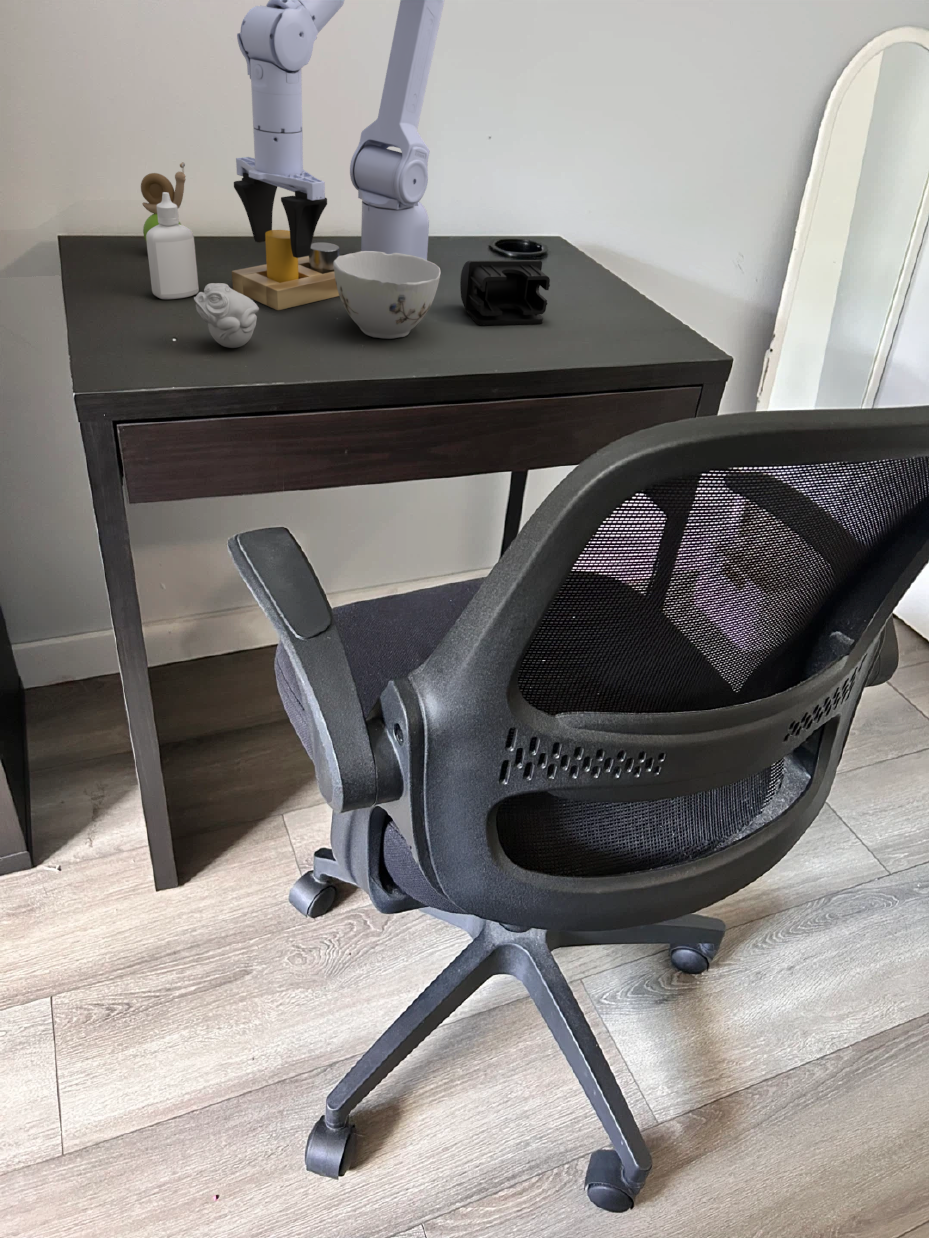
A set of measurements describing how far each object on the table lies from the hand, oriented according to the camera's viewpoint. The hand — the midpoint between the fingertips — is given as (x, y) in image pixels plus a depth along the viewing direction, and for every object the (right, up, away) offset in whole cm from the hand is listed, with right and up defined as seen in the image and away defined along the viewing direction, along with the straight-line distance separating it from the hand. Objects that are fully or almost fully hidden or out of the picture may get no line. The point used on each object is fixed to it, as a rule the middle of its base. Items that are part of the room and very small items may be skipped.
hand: (281, 248), depth 116 cm
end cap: (+28, -7, +4) cm, 29 cm away
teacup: (+13, -11, -3) cm, 17 cm away
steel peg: (+4, -2, +8) cm, 9 cm away
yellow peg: (0, -5, +3) cm, 6 cm away
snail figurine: (-18, +4, +13) cm, 23 cm away
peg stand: (+2, -3, +6) cm, 7 cm away
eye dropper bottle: (-13, -6, 0) cm, 15 cm away
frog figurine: (-3, -16, -12) cm, 21 cm away
